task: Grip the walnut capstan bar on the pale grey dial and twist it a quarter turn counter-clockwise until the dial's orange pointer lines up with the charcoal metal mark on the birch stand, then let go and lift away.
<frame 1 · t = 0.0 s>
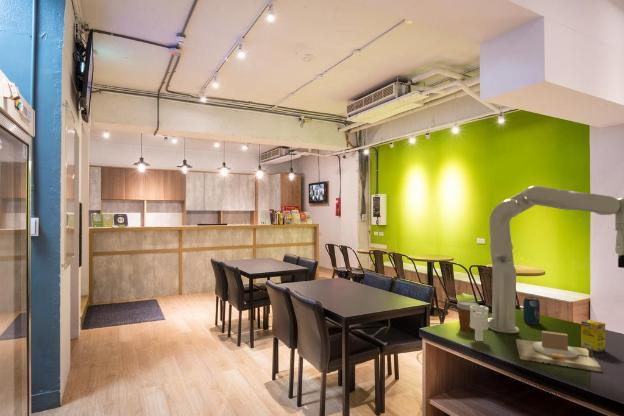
soda can: (531, 322, 186), on the counter
level stand: (554, 355, 141), on the counter
supplement box: (592, 350, 149), on the counter
disposable coffee cup: (467, 329, 172), on the counter
dial: (554, 342, 141), point 5 cm above the counter, hinge at 0.0°
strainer: (478, 341, 157), on the counter
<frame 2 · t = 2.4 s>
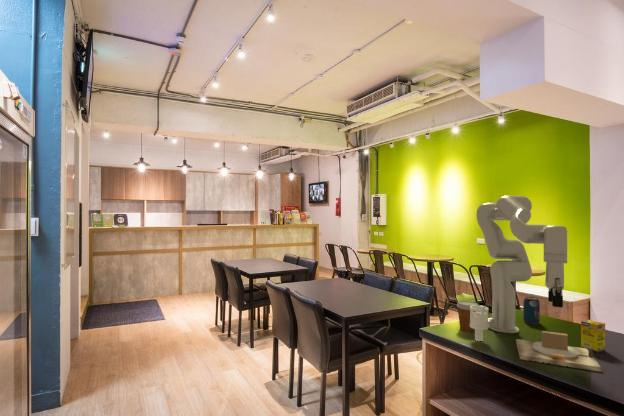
hand: (555, 304, 141), 19 cm above the counter, tool pointing down, fingers open, 9 cm apart
nothing on the counter moved.
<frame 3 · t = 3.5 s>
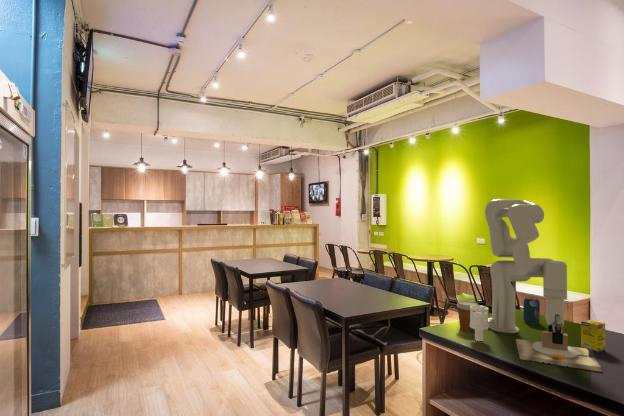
hand: (555, 339, 141), 6 cm above the counter, tool pointing down, fingers open, 9 cm apart
nothing on the counter moved.
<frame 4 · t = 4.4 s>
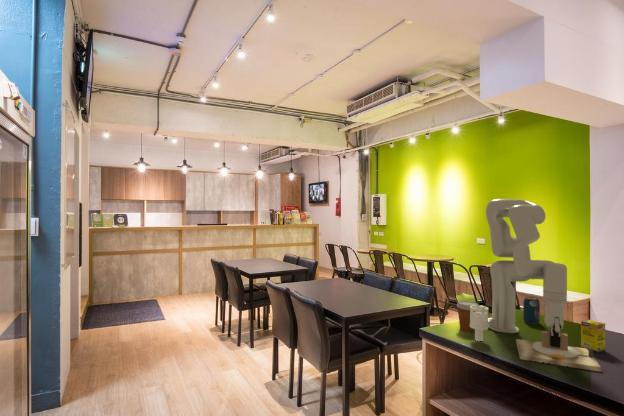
hand: (554, 345, 141), 4 cm above the counter, tool pointing down, fingers closed on dial, 2 cm apart
dial: (554, 342, 141), point 5 cm above the counter, hinge at 0.0°, touching gripper
everything else where it was.
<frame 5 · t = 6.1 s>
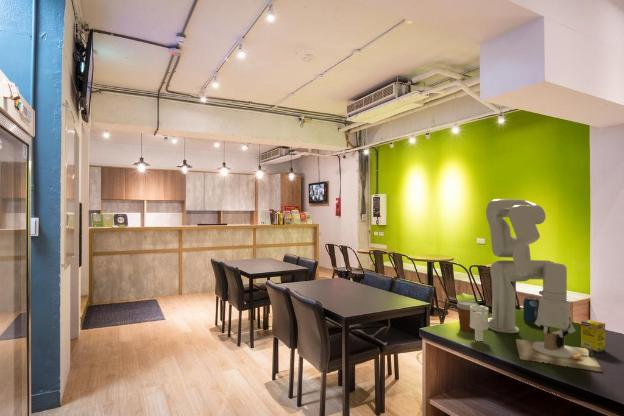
hand: (554, 345, 141), 4 cm above the counter, tool pointing down, fingers closed on dial, 3 cm apart
dial: (556, 342, 141), point 5 cm above the counter, hinge at 48.9°, touching gripper
everything else where it was.
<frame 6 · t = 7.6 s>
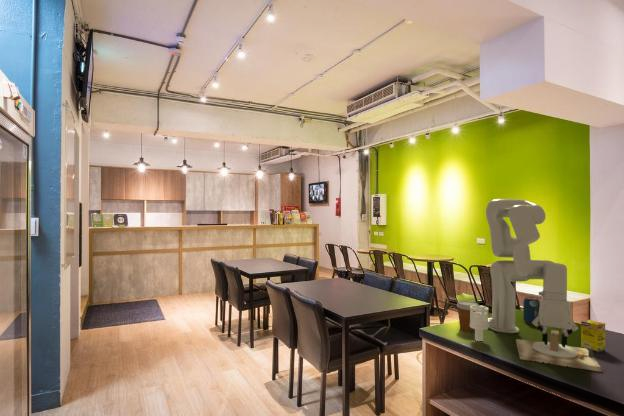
hand: (554, 344, 141), 4 cm above the counter, tool pointing down, fingers open, 5 cm apart
dial: (556, 342, 141), point 5 cm above the counter, hinge at 78.9°
everything else where it was.
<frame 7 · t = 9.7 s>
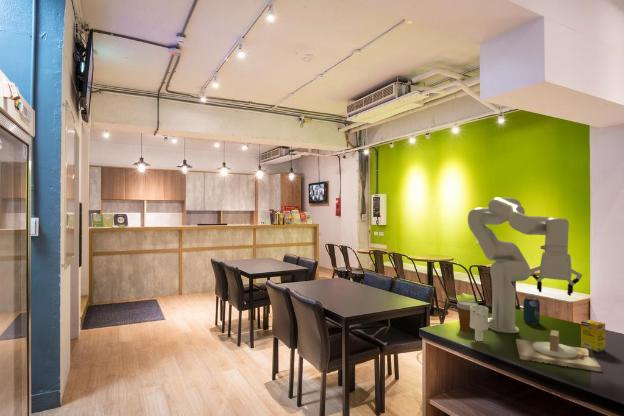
hand: (554, 293, 147), 22 cm above the counter, tool pointing down, fingers open, 9 cm apart
nothing on the counter moved.
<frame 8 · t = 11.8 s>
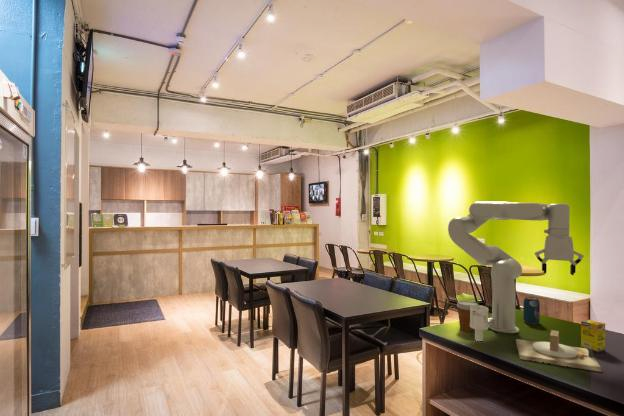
hand: (558, 273, 158), 28 cm above the counter, tool pointing down, fingers open, 9 cm apart
nothing on the counter moved.
at the end: dial at +79° (first picture: +0°); the gripper is holding nothing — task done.
